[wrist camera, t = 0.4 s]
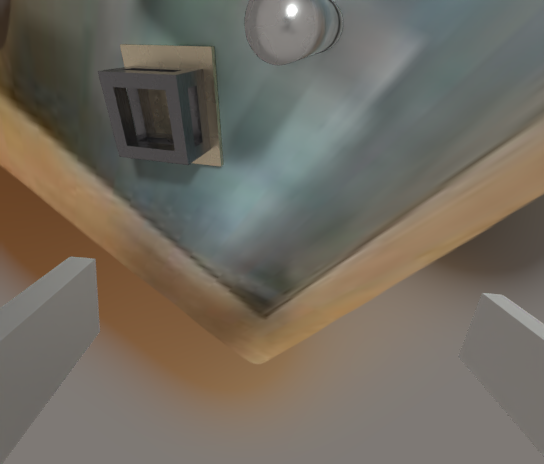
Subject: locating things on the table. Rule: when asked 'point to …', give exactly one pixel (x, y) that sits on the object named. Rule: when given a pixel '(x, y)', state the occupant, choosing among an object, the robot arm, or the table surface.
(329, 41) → the tube
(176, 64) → the collar stand
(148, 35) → the table surface
